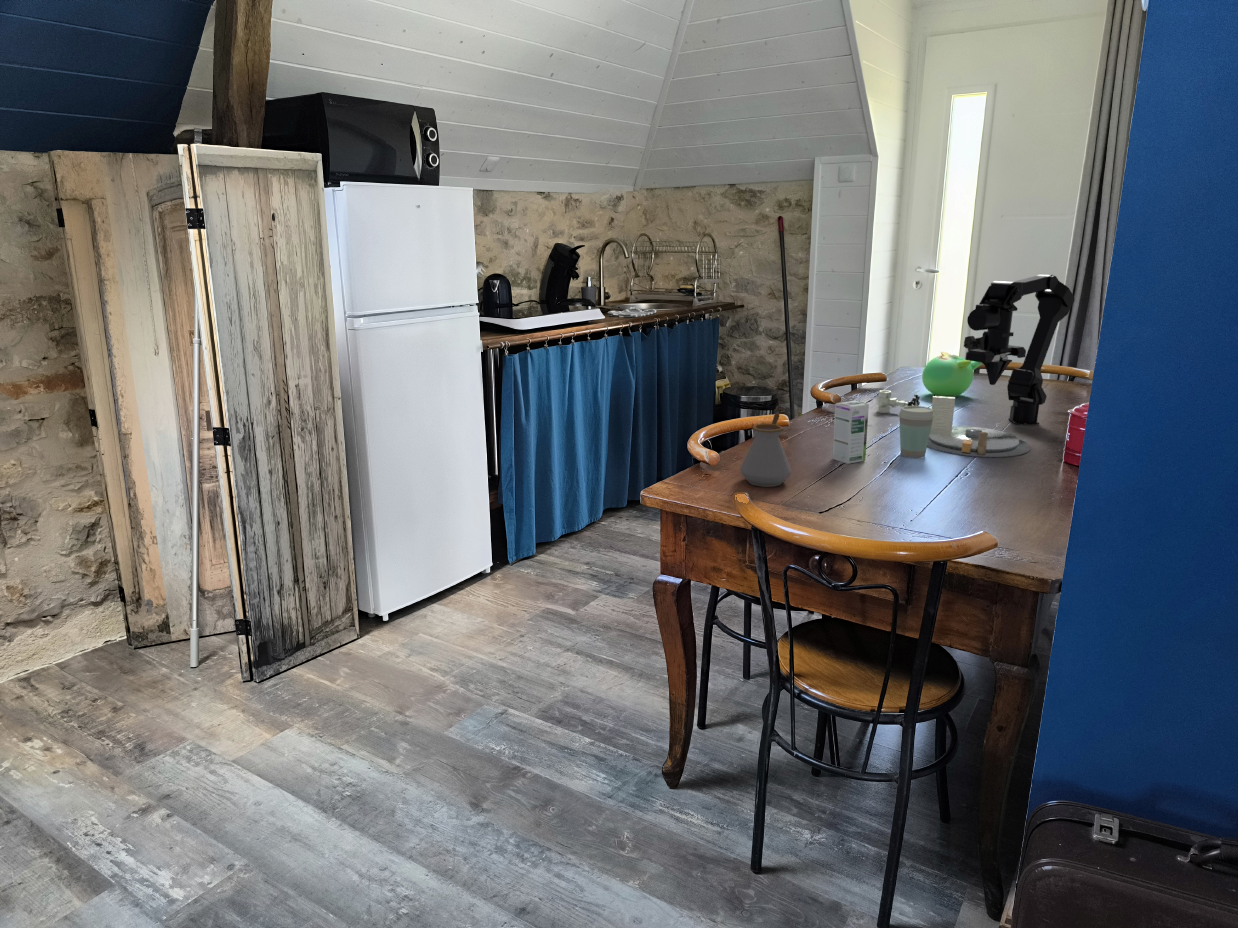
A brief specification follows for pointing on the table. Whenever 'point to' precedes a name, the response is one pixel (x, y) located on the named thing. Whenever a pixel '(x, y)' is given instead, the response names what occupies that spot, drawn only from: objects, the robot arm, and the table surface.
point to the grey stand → (964, 431)
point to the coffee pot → (766, 456)
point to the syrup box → (850, 431)
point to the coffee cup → (915, 430)
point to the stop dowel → (982, 443)
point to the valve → (893, 401)
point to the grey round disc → (1020, 450)
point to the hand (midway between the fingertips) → (992, 384)
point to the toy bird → (948, 375)
